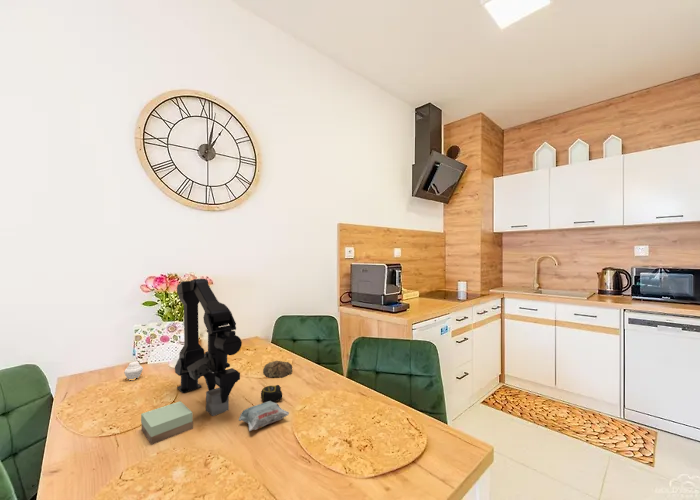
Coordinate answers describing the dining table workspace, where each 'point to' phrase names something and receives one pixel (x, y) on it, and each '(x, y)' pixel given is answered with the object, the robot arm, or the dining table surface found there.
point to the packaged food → (262, 415)
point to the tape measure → (271, 393)
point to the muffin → (133, 370)
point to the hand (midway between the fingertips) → (217, 397)
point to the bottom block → (167, 433)
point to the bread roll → (277, 369)
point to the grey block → (215, 402)
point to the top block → (166, 418)
